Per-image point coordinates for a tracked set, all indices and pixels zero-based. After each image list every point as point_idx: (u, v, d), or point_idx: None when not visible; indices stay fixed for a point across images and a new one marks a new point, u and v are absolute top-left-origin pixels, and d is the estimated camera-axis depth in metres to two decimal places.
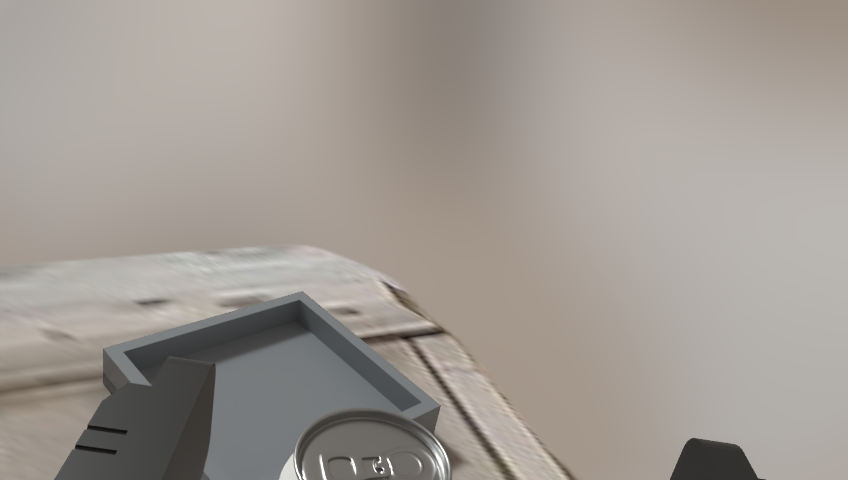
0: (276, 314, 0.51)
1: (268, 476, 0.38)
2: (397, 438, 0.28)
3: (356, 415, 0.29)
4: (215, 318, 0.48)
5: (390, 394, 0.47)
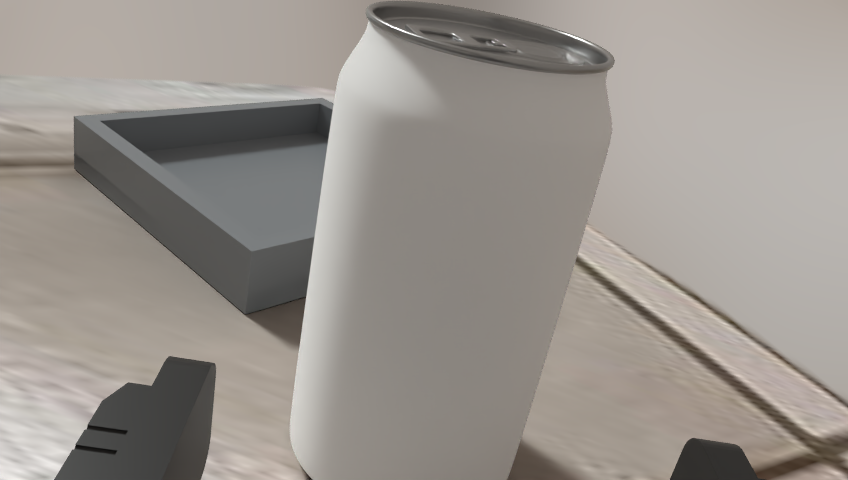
0: (292, 117, 0.42)
1: (298, 230, 0.28)
2: (514, 37, 0.19)
3: (447, 19, 0.19)
4: (217, 107, 0.39)
5: None
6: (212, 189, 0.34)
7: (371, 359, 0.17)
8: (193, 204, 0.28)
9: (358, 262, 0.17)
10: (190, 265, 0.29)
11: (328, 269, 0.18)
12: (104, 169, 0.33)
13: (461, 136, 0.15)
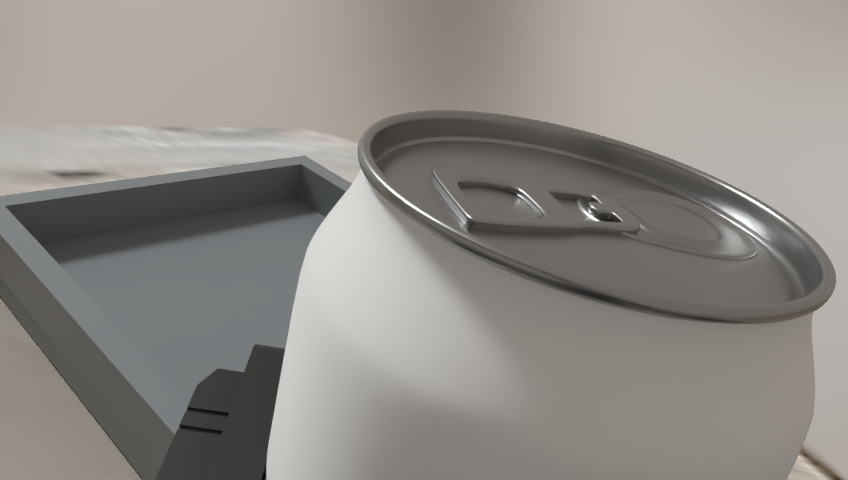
0: (265, 182, 0.33)
1: None
2: (615, 178, 0.11)
3: (496, 136, 0.12)
4: (168, 176, 0.31)
5: None
6: (151, 297, 0.26)
7: None
8: (105, 349, 0.20)
9: None
10: (104, 428, 0.21)
11: None
12: (5, 275, 0.25)
13: (553, 460, 0.07)
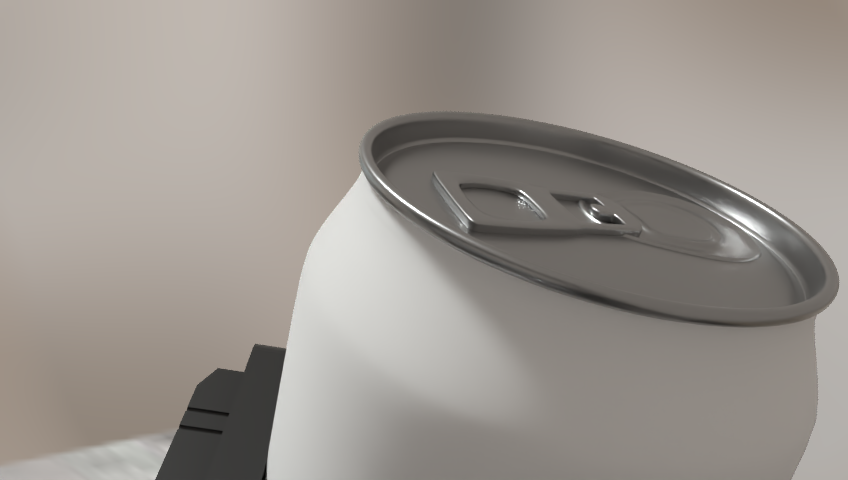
0: None
1: None
2: (617, 180, 0.11)
3: (498, 137, 0.11)
4: None
5: None
6: None
7: None
8: None
9: None
10: None
11: None
12: None
13: (555, 464, 0.07)
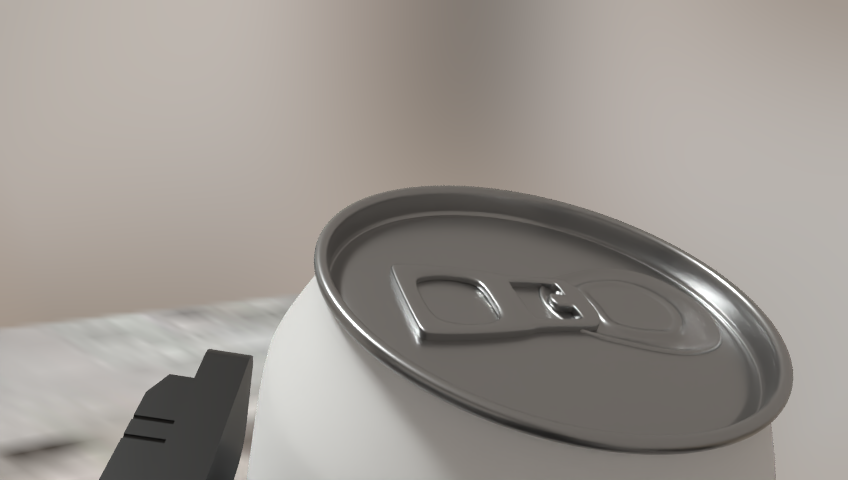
0: None
1: None
2: (584, 254, 0.11)
3: (468, 207, 0.11)
4: None
5: None
6: None
7: None
8: None
9: None
10: None
11: None
12: None
13: None
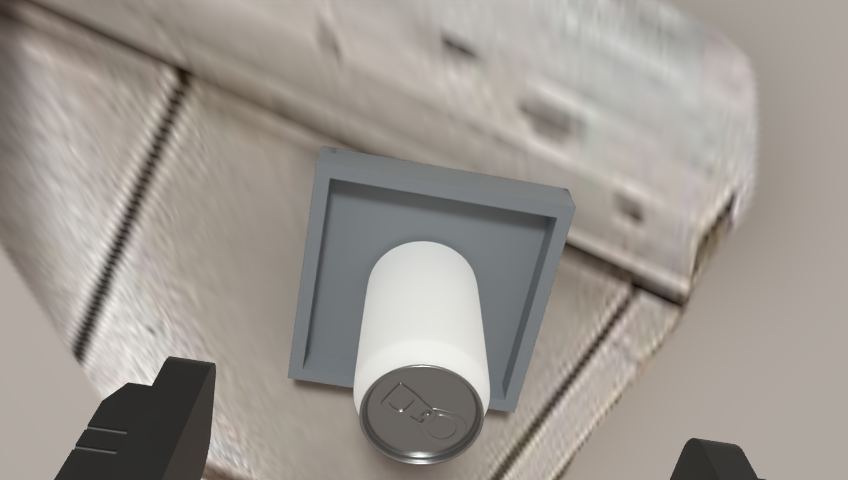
0: None
1: (329, 374, 0.46)
2: (462, 408, 0.34)
3: (459, 374, 0.34)
4: (448, 188, 0.40)
5: (512, 354, 0.47)
6: (369, 254, 0.44)
7: None
8: (297, 322, 0.44)
9: None
10: None
11: (363, 325, 0.39)
12: None
13: None
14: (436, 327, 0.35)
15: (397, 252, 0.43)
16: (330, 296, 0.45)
